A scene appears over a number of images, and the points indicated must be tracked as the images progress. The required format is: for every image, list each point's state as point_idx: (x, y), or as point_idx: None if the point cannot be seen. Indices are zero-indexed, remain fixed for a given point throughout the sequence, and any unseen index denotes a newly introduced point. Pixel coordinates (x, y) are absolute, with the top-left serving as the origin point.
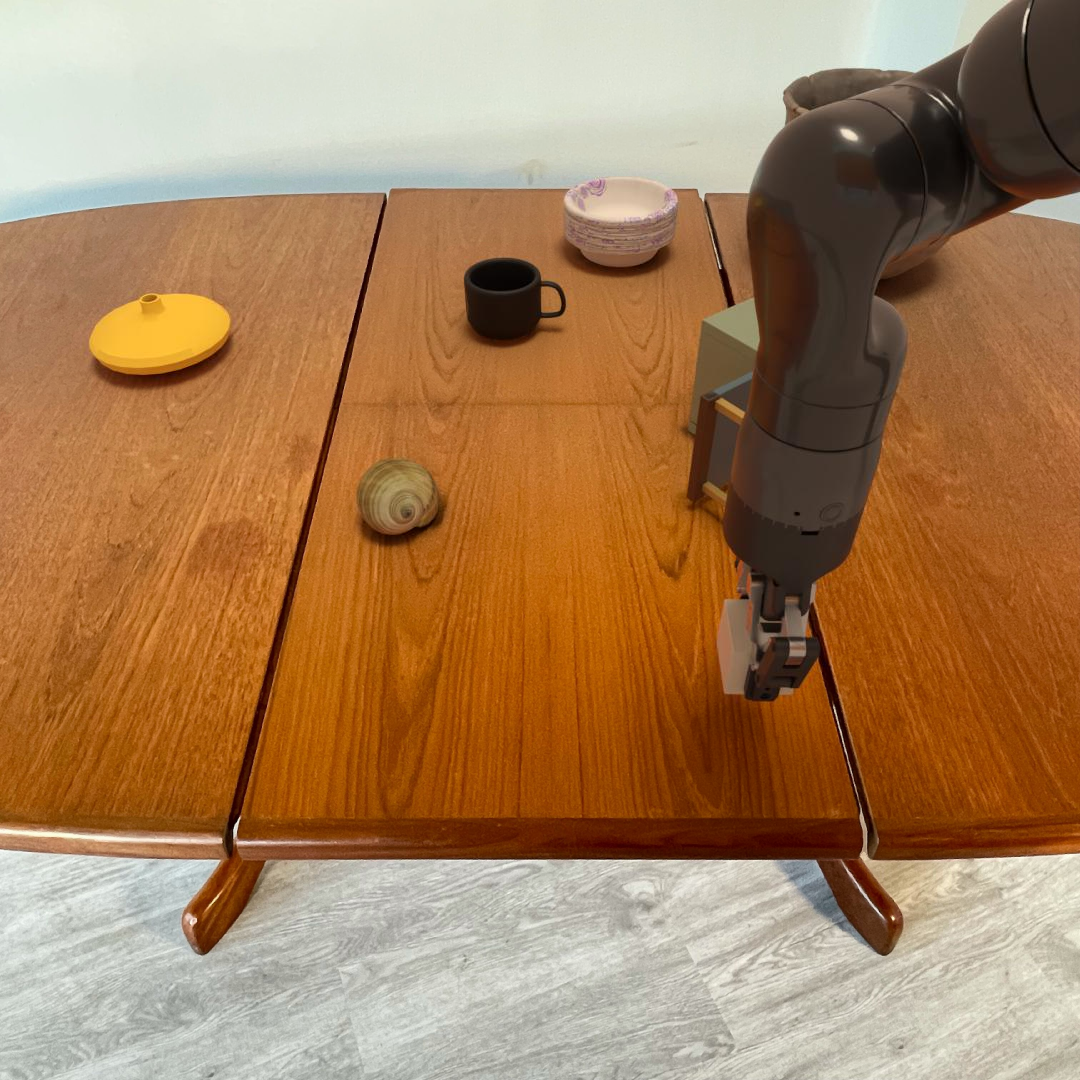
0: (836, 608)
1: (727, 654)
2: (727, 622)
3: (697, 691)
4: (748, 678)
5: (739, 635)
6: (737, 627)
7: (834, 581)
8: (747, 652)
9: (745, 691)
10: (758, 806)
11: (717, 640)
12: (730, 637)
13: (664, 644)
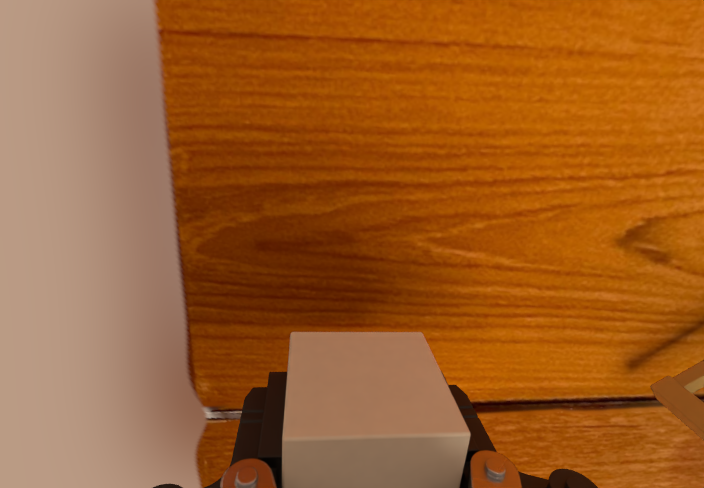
0: (512, 433)
1: (328, 388)
2: (392, 430)
3: (399, 248)
4: (267, 415)
5: (340, 456)
6: (369, 453)
7: (555, 437)
8: (282, 468)
9: (271, 382)
10: (204, 303)
11: (418, 338)
12: (337, 434)
13: (494, 209)
